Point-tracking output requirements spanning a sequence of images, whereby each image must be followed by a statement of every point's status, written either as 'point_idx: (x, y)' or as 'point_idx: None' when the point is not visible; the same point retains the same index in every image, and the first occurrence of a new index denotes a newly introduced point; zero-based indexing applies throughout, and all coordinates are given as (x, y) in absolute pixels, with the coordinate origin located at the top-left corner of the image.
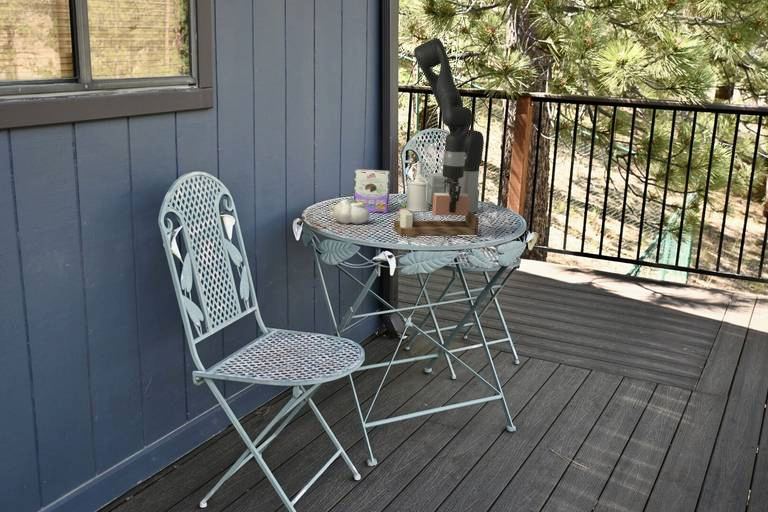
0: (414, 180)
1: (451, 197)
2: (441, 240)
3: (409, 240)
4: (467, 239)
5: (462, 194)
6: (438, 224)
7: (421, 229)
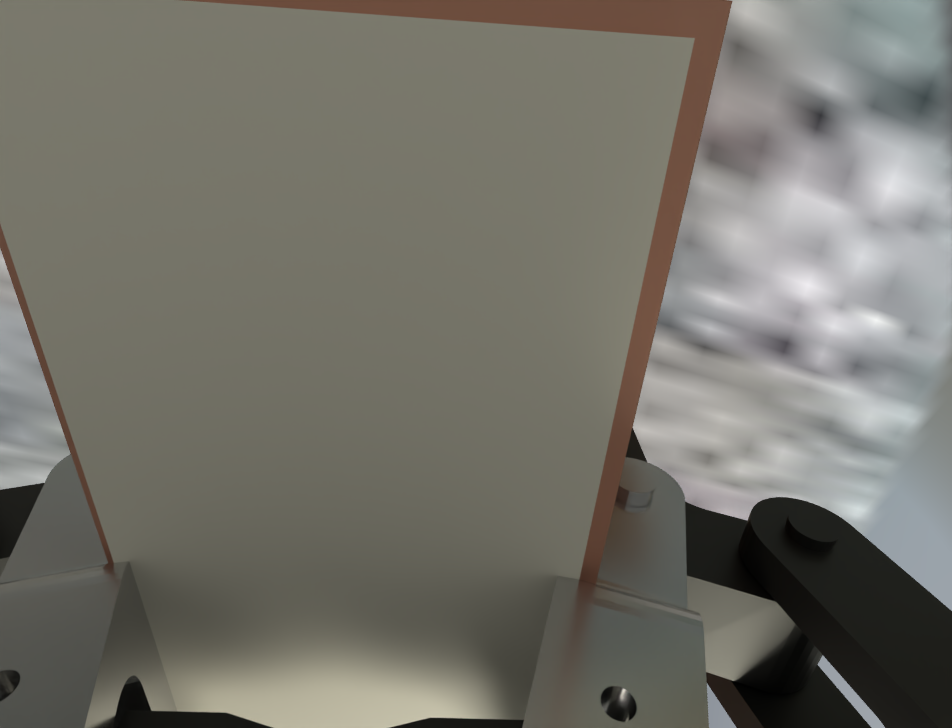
0: None
1: (736, 726)
2: (724, 408)
3: None
4: (767, 121)
5: (367, 322)
6: None
7: None
